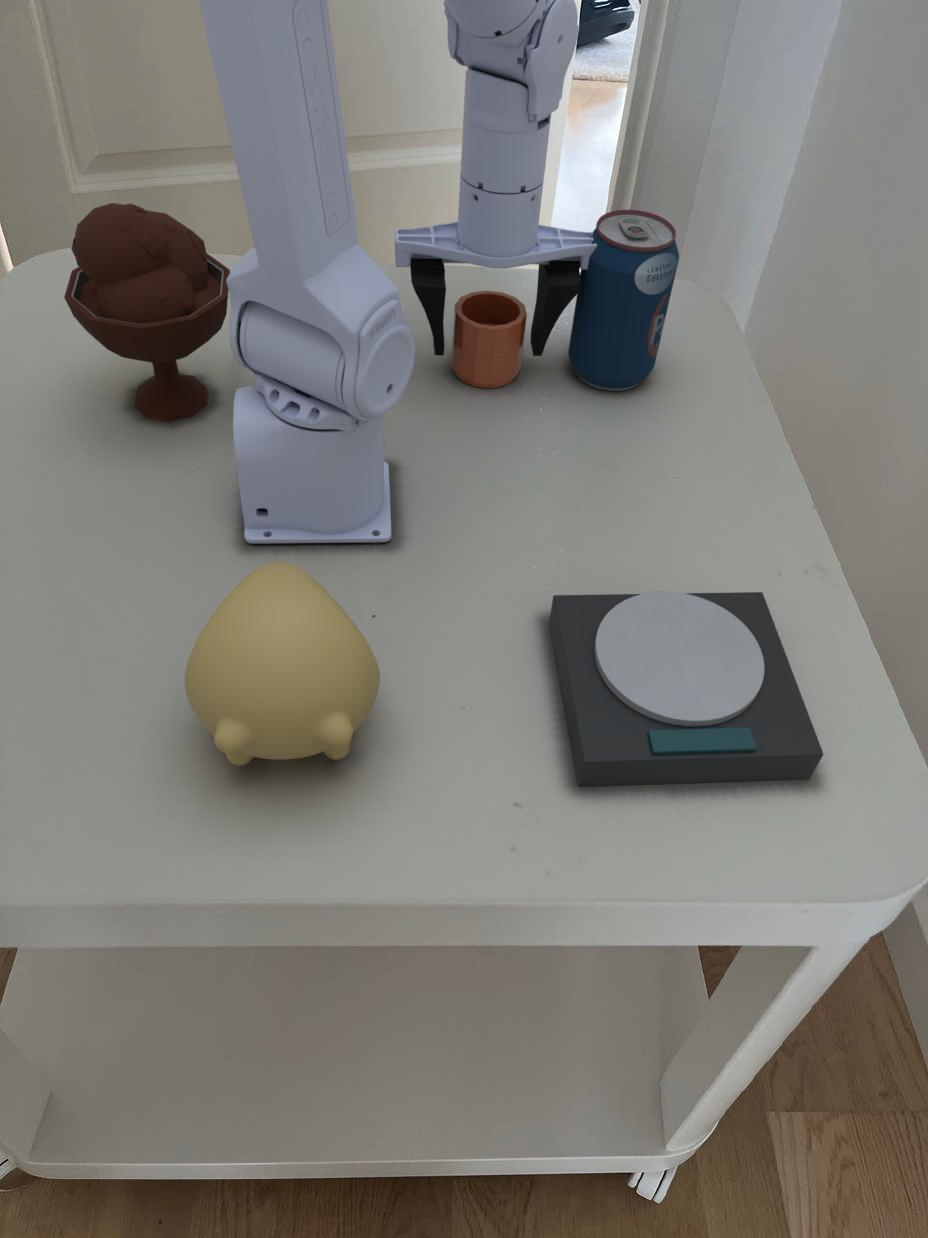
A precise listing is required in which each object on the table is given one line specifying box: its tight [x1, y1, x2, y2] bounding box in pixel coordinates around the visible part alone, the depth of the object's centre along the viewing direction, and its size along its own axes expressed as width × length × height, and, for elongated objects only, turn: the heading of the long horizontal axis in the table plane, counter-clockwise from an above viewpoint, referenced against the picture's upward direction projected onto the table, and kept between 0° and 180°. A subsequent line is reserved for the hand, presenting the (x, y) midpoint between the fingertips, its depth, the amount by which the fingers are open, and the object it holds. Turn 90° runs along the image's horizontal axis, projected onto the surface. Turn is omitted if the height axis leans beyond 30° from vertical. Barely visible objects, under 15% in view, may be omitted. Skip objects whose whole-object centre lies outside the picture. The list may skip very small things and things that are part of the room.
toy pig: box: [183, 560, 381, 767], centre depth 53 cm, size 10×12×11 cm
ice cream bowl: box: [64, 202, 231, 422], centre depth 69 cm, size 11×11×15 cm
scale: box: [548, 591, 824, 787], centre depth 57 cm, size 13×12×3 cm
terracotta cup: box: [451, 290, 528, 389], centre depth 78 cm, size 5×6×5 cm
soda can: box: [567, 209, 680, 392], centre depth 76 cm, size 7×7×12 cm
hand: (487, 348), depth 78 cm, fingers open, 7 cm apart
